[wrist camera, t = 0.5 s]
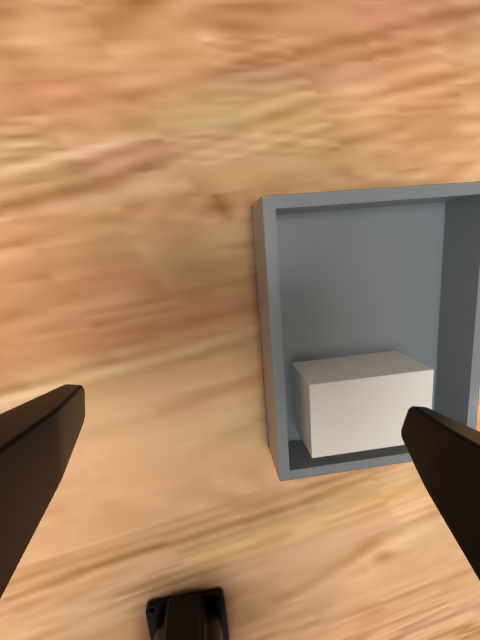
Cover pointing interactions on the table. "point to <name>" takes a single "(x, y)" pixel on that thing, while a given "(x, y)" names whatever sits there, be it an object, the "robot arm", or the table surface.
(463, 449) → the robot arm
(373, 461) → the tote
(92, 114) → the table surface
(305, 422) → the white rectangular block
